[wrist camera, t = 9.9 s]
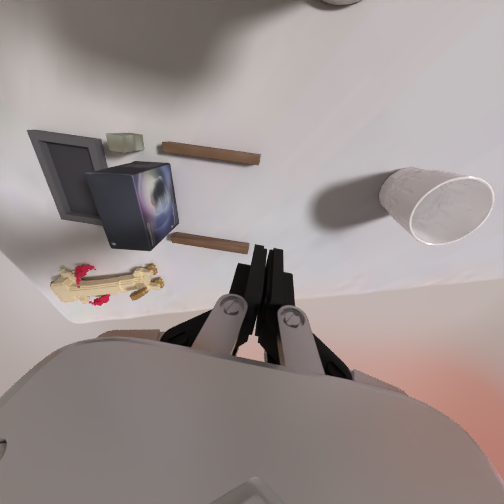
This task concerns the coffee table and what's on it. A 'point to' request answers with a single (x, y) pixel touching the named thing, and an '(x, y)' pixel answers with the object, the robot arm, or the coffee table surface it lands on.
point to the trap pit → (70, 171)
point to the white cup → (436, 203)
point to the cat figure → (103, 285)
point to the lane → (135, 143)
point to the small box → (135, 203)
